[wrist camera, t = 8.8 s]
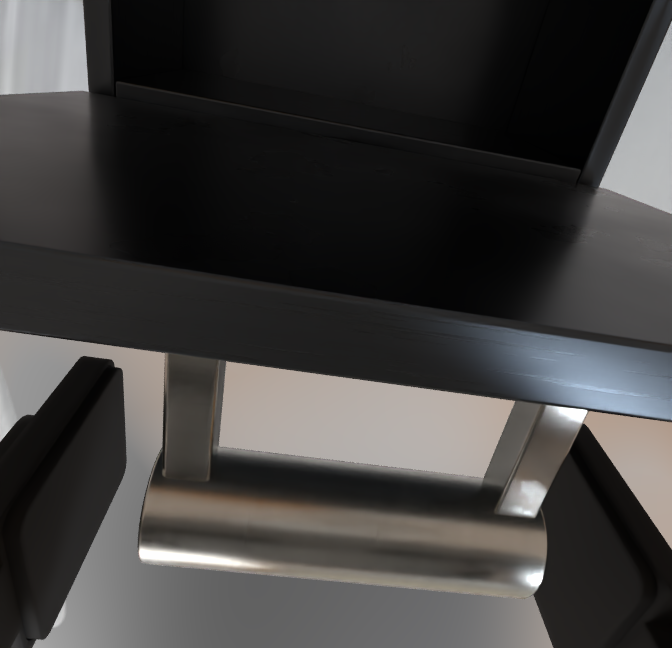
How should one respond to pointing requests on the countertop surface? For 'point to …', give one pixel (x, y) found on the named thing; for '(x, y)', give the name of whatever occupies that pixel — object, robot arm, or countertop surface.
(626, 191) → the countertop surface
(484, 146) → the bin
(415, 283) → the bin lid
